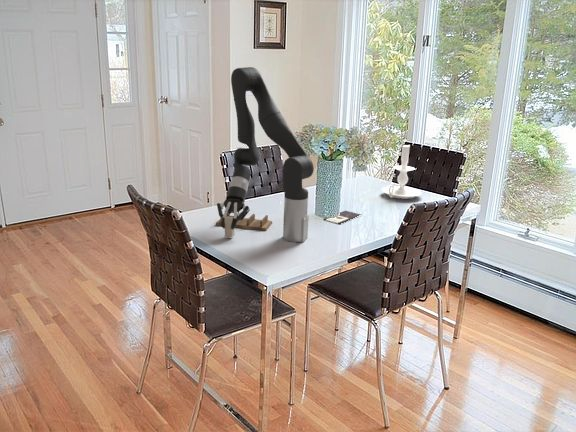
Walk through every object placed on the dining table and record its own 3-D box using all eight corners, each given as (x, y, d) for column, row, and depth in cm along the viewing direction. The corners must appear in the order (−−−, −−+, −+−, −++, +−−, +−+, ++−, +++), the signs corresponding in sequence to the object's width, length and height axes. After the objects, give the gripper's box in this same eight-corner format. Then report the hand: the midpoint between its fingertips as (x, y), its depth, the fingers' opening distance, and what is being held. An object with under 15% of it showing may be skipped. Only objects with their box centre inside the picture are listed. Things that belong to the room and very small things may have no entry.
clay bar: (234, 235, 209) (234, 216, 207) (231, 237, 206) (231, 218, 204) (227, 234, 210) (227, 215, 207) (224, 236, 207) (224, 217, 205)
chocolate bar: (361, 214, 243) (340, 223, 230) (361, 216, 243) (340, 225, 230) (345, 210, 248) (323, 218, 235) (345, 212, 249) (323, 220, 235)
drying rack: (272, 223, 227) (272, 215, 226) (266, 230, 218) (266, 222, 217) (223, 218, 232) (223, 210, 231) (215, 225, 223) (215, 216, 221)
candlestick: (369, 198, 273) (374, 144, 264) (392, 189, 291) (397, 139, 283) (406, 206, 261) (412, 150, 252) (427, 197, 279) (433, 144, 271)
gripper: (218, 184, 211) (208, 222, 203) (252, 186, 208) (242, 225, 200) (223, 193, 217) (213, 230, 210) (256, 196, 214) (247, 234, 207)
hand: (227, 227), depth 205 cm, fingers closed on clay bar, 3 cm apart
